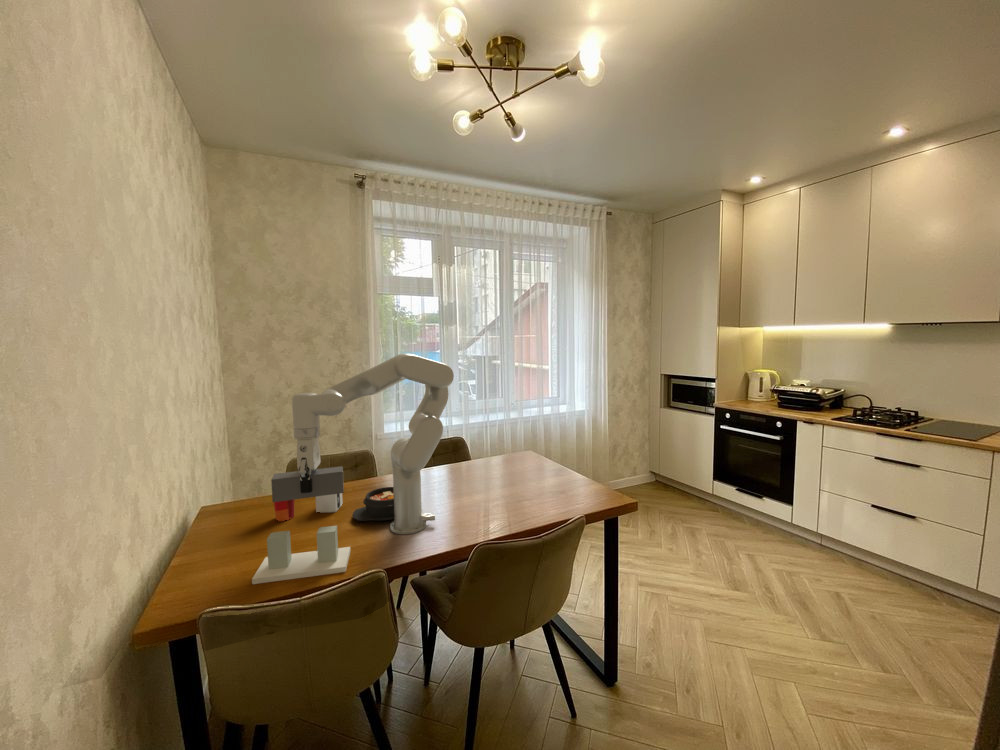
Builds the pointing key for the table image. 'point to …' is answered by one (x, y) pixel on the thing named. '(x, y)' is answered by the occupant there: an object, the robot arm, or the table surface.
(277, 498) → the bar
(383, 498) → the casserole
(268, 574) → the stand
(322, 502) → the container
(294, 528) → the table surface
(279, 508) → the coffee cup
